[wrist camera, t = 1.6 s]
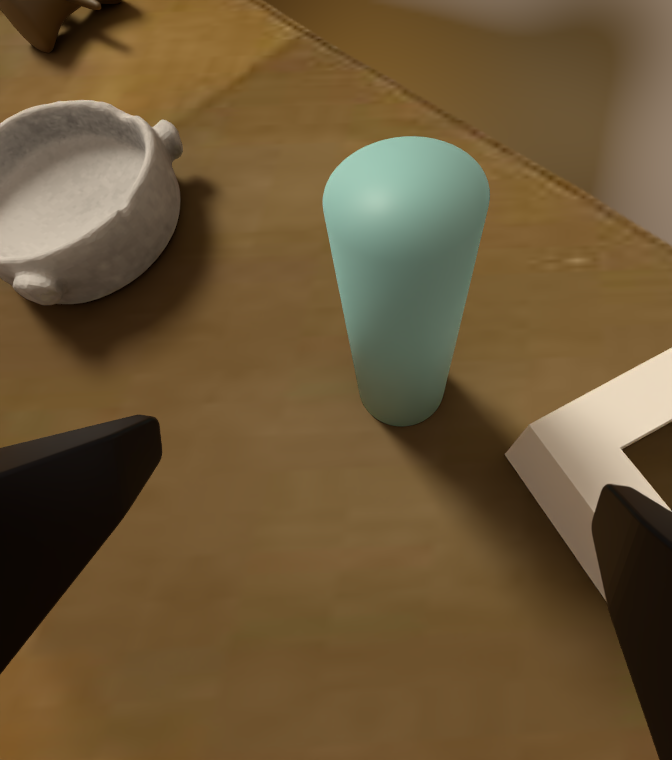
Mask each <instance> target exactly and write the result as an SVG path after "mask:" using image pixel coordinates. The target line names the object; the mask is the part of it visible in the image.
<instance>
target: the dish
mask: <svg viewBox="0 0 672 760" xmlns="http://www.w3.org/2000/svg"><path fill="white" fill-rule="evenodd" d="M182 152H183V147H182V142H181V140H180V137H179V133H178V130H177V129H176V128H175V126H174V125H173V124H171V123H170V122H168V121H166V120H160V121H159V122H158V123H157V124H156V125H155V126H154V127H151V126H150V125H149V124H148V123H147V122H146V121H144V120H143V119H142V118H141V117H139V116H132V115H129V114H127V113H125V112H123V111H121V110H119V109H117V108H115V107H114V106H112V105H111V104H108V103H105V102H96V101H92V100H77V101H58V102H55V103H51V104H45V105H40V106H35V107H32V108H29V109H26V110H23V111H21V112H19V113H17V114H15V115H13V116H11V117H9V118H8V119H6V120H5V121H3V122H2V123H0V278H1V279H2V280H4V281H6V282H7V283H9V284H10V285H12V286H13V288H14V290H15V291H16V292H17V293H19V294H20V295H21V296H23V297H24V298H26V299H28V300H30V301H33V302H36V303H38V304H40V305H53V304H56V303H57V304H77V303H85V302H89V301H92V300H95V299H98V298H101V297H104V296H106V295H109V294H111V293H113V292H115V291H117V290H119V289H121V288H122V287H124V286H126V285H127V284H129V283H130V282H132V281H133V280H134V279H136V278H137V277H139V276H140V275H141V274H142V273H143V272H144V271H146V270H147V269H148V268H149V267H150V266H151V264H152V263H153V262H154V261H155V260H156V259H157V258H158V257H159V255H160V254H161V253H162V251H163V250H164V249H165V247H166V246H167V244H168V242H169V240H170V238H171V237H172V235H173V233H174V230H175V228H176V225H177V221H178V217H179V211H180V200H181V199H180V189H179V184H178V181H177V178H176V176H175V173H174V171H173V168H172V161H173V160H175V159H177V158H179V157H180V156H181V154H182Z"/></svg>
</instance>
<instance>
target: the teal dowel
mask: <svg viewBox="0 0 672 760" xmlns="http://www.w3.org/2000/svg"><path fill="white" fill-rule="evenodd" d="M489 200H490V189H489V184H488V181H487V178H486V175H485V173H484V172H483V170H482V168H481V167H480V165H479V164H478V163H477V162H476V161H475V160H474V159H473V158H472V157H471V156H470V155H469V154H467V153H466V152H465V151H463V150H462V149H460V148H458V147H456V146H454V145H452V144H449V143H447V142H444V141H441V140H437V139H433V138H427V137H415V136H412V137H397V138H391V139H386V140H382V141H379V142H375V143H373V144H370V145H368V146H365V147H363V148H361V149H360V150H358V151H356V152H355V153H353V154H352V155H350V156H349V157H347V158H346V159H345V160H344V161H343V162H342V163H341V164H340V165H339V166H338V167H337V168H336V169H335V170H334V172H333V173H332V175H331V176H330V178H329V180H328V182H327V184H326V187H325V190H324V195H323V210H324V216H325V221H326V226H327V231H328V236H329V241H330V246H331V251H332V257H333V262H334V267H335V272H336V277H337V282H338V287H339V292H340V297H341V302H342V307H343V312H344V317H345V322H346V327H347V332H348V337H349V342H350V347H351V352H352V358H353V363H354V368H355V373H356V378H357V383H358V388H359V393H360V397H361V400H362V403H363V405H364V406H365V408H366V409H367V411H368V412H369V413H370V414H371V415H372V416H373V417H375V418H376V419H378V420H379V421H381V422H383V423H386V424H389V425H393V426H411V425H415V424H418V423H420V422H422V421H424V420H426V419H427V418H429V417H430V416H431V415H432V414H433V413H434V412H435V411H436V410H437V408H438V407H439V405H440V403H441V401H442V398H443V394H444V390H445V386H446V382H447V377H448V373H449V369H450V365H451V361H452V356H453V352H454V348H455V344H456V340H457V336H458V331H459V327H460V323H461V319H462V315H463V310H464V306H465V302H466V298H467V294H468V290H469V285H470V281H471V277H472V273H473V269H474V264H475V260H476V256H477V252H478V248H479V244H480V239H481V235H482V231H483V227H484V223H485V218H486V214H487V210H488V206H489Z"/></svg>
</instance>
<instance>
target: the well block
mask: <svg viewBox="0 0 672 760" xmlns="http://www.w3.org/2000/svg"><path fill="white" fill-rule="evenodd" d="M670 422H672V348H670V349H668V350H667V351H665V352H663V353H661V354H659V355H657V356H655V357H654V358H652V359H650V360H648V361H646V362H644V363H642V364H641V365H639V366H637V367H635V368H633V369H631V370H629V371H628V372H626V373H624V374H622V375H620V376H618V377H616V378H615V379H613V380H611V381H609V382H607V383H605V384H603V385H602V386H600V387H598V388H596V389H594V390H592V391H590V392H589V393H587V394H585V395H583V396H581V397H579V398H577V399H576V400H574V401H572V402H570V403H568V404H566V405H564V406H563V407H561V408H559V409H557V410H555V411H553V412H552V413H550V414H548V415H546V416H544V417H542V418H540V419H539V420H537V421H535V422H533V423H531V424H529V425H528V427H527V428H526V429H525V430H524V431H523V433H522V434H521V435H520V436H519V438H518V439H517V440H516V441H515V442H514V444H513V445H512V446H511V447H510V449H509V450H508V451H507V452H506V453H505V456H506V457H507V459H508V460H509V462H510V463H511V465H512V466H513V467H514V469H515V470H516V472H517V473H518V475H519V476H520V478H521V479H522V480H523V482H524V483H525V485H526V486H527V488H528V489H529V491H530V492H531V493H532V495H533V496H534V498H535V499H536V501H537V502H538V504H539V505H540V506H541V508H542V509H543V511H544V512H545V514H546V515H547V517H548V518H549V519H550V521H551V522H552V524H553V525H554V527H555V528H556V530H557V531H558V533H559V534H560V535H561V537H562V538H563V540H564V541H565V543H566V544H567V546H568V547H569V548H570V550H571V551H572V553H573V554H574V556H575V557H576V559H577V560H578V561H579V563H580V564H581V566H582V567H583V569H584V570H585V572H586V573H587V574H588V576H589V577H590V579H591V580H592V582H593V583H594V585H595V586H596V587H597V589H598V590H599V592H600V593H601V595H602V596H603V598H604V599H605V600H606V597H605V593H604V588H603V583H602V579H601V574H600V569H599V565H598V560H597V555H596V551H595V546H594V541H593V537H592V530H591V525H592V519H593V516H594V513H595V509H596V506H597V503H598V499H599V496H600V493H601V490H602V488H603V487H604V486H605V485H606V484H616V485H623V486H629V487H632V488H634V489H635V490H637V491H639V492H640V493H642V494H643V495H645V496H647V497H648V498H650V499H652V500H653V501H655V502H657V503H658V504H660V505H661V506H663V507H665V508H666V509H668V510H670V508H669V507H668V506H667V505H666V503H665V502H664V501H663V500H662V499H661V497H660V496H659V495H658V494H657V492H656V491H655V490H654V489H653V488H652V486H651V485H650V484H649V483H648V481H647V480H646V479H645V478H644V477H643V475H642V474H641V473H640V472H639V470H638V469H637V468H636V467H635V466H634V464H633V463H632V462H631V461H630V459H629V458H628V457H627V456H626V455H625V453H624V452H623V451H622V449H623V448H625V447H627V446H629V445H631V444H632V443H634V442H636V441H638V440H640V439H641V438H643V437H645V436H647V435H649V434H650V433H652V432H654V431H656V430H658V429H659V428H661V427H663V426H665V425H667V424H668V423H670ZM670 511H671V510H670ZM671 512H672V511H671ZM606 602H607V601H606Z"/></svg>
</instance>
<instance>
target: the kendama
mask: <svg viewBox="0 0 672 760" xmlns="http://www.w3.org/2000/svg"><path fill="white" fill-rule="evenodd" d="M120 2H121V0H0V8H1V10H2V11H3V13H4V14H5V16H6V17H7V18H8V19H9V21H10V22H11V23H12V25H13V26H14V27H15V28H16V29H17V30H18V31H19V33H20V34H21V35H22V36H23V37H24V38H25V39H26V40H27V41H28V42H29V43H30V44H31V45H33V46H34V47H36V48H37V49H38V50H40V51H43V52H46V53H49V52H51V51H52V49H53V47H54V45H55V42H56V38H57V35H58V32H59V30H60V27H61V25H62V24H63V22H64V20H65V19H66V18H67V17H68V16H69V15H70V14H72V13H73V12H74V11H76V10H77V9H78V8H80V7H81V6H83V7H86V8H89V9H93V10H100V9H101V4H100V3H102V4H119V3H120Z"/></svg>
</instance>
